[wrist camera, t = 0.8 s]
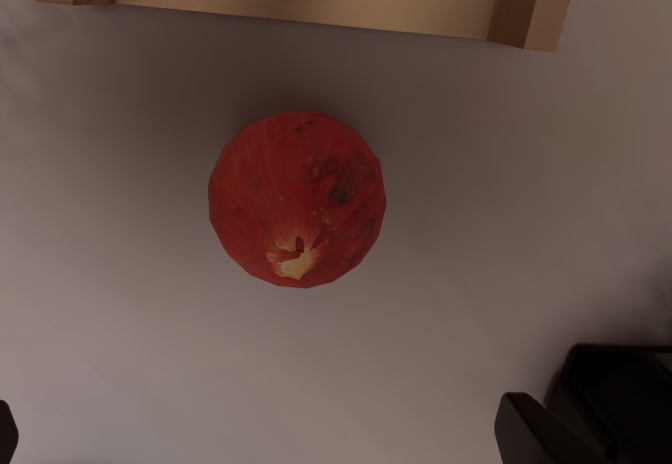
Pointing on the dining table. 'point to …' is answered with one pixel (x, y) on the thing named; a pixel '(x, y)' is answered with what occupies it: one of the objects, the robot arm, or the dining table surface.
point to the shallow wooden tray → (398, 16)
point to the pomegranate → (297, 199)
